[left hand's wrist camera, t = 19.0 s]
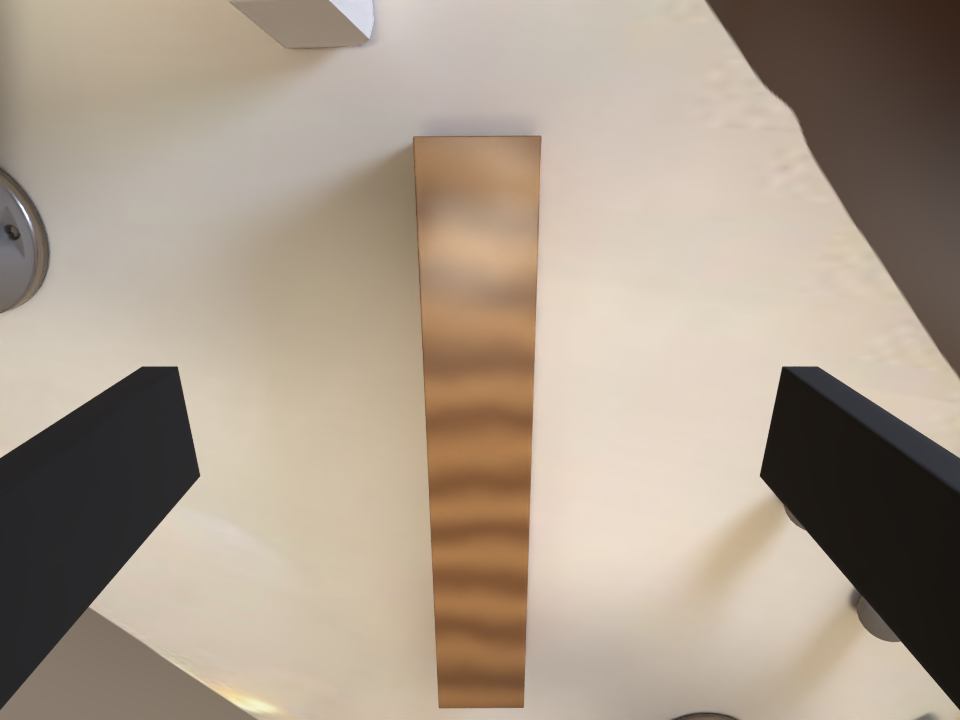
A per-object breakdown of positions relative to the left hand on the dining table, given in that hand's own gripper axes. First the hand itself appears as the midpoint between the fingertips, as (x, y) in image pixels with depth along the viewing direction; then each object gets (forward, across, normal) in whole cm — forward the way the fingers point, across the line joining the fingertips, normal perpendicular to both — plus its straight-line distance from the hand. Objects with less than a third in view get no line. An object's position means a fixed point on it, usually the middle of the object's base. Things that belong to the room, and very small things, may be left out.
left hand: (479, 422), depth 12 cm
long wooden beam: (+41, 0, -23) cm, 47 cm away
